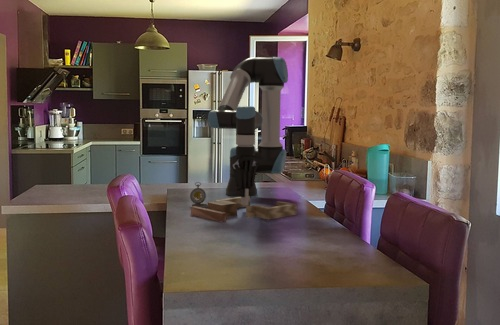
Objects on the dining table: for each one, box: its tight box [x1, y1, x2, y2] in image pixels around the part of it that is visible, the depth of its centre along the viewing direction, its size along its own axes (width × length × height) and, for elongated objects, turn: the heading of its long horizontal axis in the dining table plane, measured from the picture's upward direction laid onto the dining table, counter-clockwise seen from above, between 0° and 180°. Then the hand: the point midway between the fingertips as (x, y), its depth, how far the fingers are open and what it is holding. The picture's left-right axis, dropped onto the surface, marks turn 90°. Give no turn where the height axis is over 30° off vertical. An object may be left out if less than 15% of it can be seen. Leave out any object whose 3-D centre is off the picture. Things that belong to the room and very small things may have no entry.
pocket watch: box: [189, 181, 208, 209], centre depth 223 cm, size 8×8×10 cm
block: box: [207, 200, 238, 218], centre depth 207 cm, size 8×8×5 cm
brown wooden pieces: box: [190, 196, 298, 223], centre depth 209 cm, size 32×27×4 cm
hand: (244, 204), depth 215 cm, fingers closed
